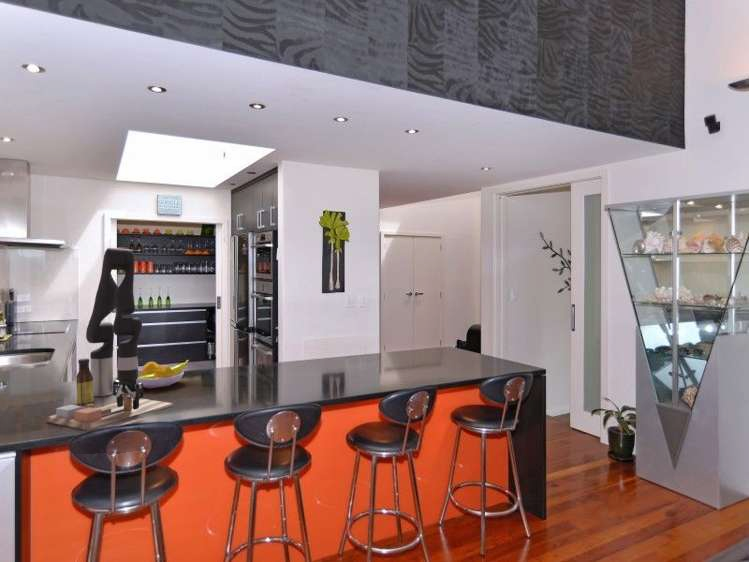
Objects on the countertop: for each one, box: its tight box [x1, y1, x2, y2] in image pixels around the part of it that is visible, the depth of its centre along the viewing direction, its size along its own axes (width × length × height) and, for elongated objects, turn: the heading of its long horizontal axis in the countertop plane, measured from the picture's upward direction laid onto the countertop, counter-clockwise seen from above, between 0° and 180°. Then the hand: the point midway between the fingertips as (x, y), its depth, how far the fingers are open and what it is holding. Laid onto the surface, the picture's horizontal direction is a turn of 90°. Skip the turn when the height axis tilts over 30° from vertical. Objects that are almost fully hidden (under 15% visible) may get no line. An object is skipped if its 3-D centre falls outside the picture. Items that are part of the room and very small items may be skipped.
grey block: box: [55, 403, 95, 419], centre depth 200 cm, size 6×13×5 cm, turn 156°
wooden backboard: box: [46, 398, 174, 431], centre depth 209 cm, size 22×40×3 cm, turn 156°
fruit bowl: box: [136, 359, 190, 389], centre depth 261 cm, size 28×27×11 cm
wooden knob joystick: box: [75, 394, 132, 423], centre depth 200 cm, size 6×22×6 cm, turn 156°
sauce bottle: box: [75, 358, 95, 406], centre depth 221 cm, size 6×6×20 cm
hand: (127, 407), depth 209 cm, fingers open, 8 cm apart
